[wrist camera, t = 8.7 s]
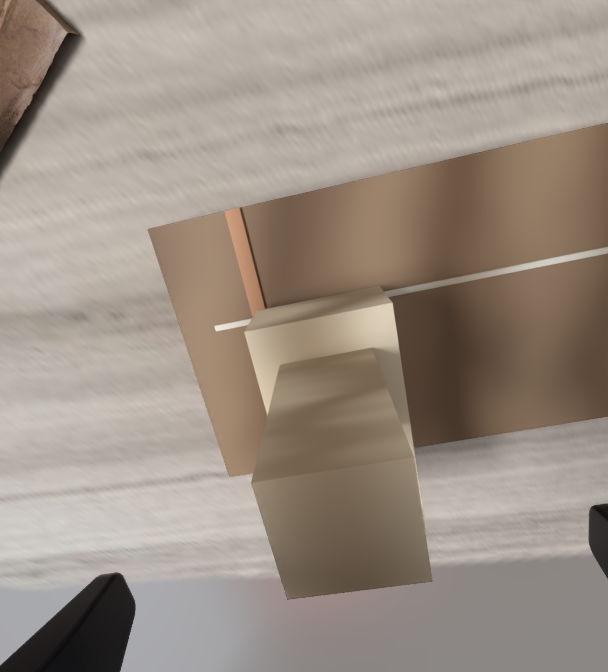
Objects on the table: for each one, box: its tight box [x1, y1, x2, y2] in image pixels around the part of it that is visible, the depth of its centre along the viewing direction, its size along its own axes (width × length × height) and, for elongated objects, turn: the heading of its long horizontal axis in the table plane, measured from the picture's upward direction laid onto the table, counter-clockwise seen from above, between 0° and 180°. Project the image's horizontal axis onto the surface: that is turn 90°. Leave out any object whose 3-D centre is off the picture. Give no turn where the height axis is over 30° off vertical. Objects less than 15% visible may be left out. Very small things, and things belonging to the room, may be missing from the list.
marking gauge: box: [244, 286, 432, 600], centre depth 14 cm, size 5×10×11 cm, turn 12°
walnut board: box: [148, 123, 608, 477], centre depth 17 cm, size 24×12×2 cm, turn 102°
